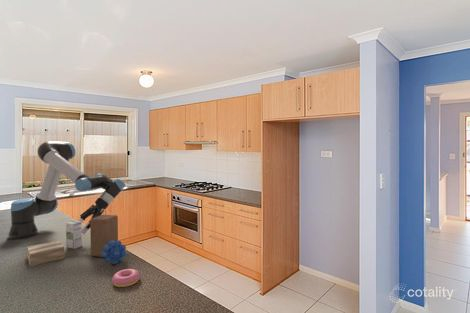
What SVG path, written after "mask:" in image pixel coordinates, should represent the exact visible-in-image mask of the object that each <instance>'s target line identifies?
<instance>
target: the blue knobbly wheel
mask: <svg viewBox="0 0 470 313" xmlns="http://www.w3.org/2000/svg"><path fill="white" fill-rule="evenodd" d="M103 248H104V250H105V251H103V252H102V256H103V257H102V258H104V262H105V263H111V264H112V265H116V264H117V263H122V262H123V261H124V257H125V256H127V251H126V249H127V247H126V245H125V244H122V241H121V240H118V241H116V242H115V241H110V242H109V245H104V247H103Z"/></svg>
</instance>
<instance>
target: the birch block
mask: <svg viewBox="0 0 470 313" xmlns="http://www.w3.org/2000/svg"><path fill="white" fill-rule="evenodd" d="M26 258H27V261H28V264H29V266H30V267H33V266H37V265H38V266H39V265H41V264H45V263H50V262H53V261H57V260H61V259H65V246H64V245H63V244H62V242H61V240H53V241H48V242H43V243H39V244H33V245H30V246H26Z"/></svg>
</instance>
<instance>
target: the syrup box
mask: <svg viewBox="0 0 470 313" xmlns="http://www.w3.org/2000/svg"><path fill="white" fill-rule="evenodd" d="M82 224H83V223H82ZM82 224H81V221H78V220H70V221H68V222H66V223H65V231H66V233H65V236H66V248H67V249H72V250H74V249H78V248H80V247H83V234H82V233H81V232H80V231H81V230H82V229H83V228H82Z"/></svg>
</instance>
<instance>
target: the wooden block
mask: <svg viewBox="0 0 470 313" xmlns="http://www.w3.org/2000/svg"><path fill="white" fill-rule="evenodd" d="M91 218H92V217H91ZM91 218H90V219H89V221H90V228H89V230H90V232H89V234H90V256H92V257H99V258H100V257H101V258H104V257H103V256H102V252H103V251H105V250H104V248H103V247H104V245H109V242H110V241H115V242H116V241H119V219H118V218H119V216H118V215H115V214H101V215H100V216H97V217H95V218H92V219H91Z"/></svg>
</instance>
